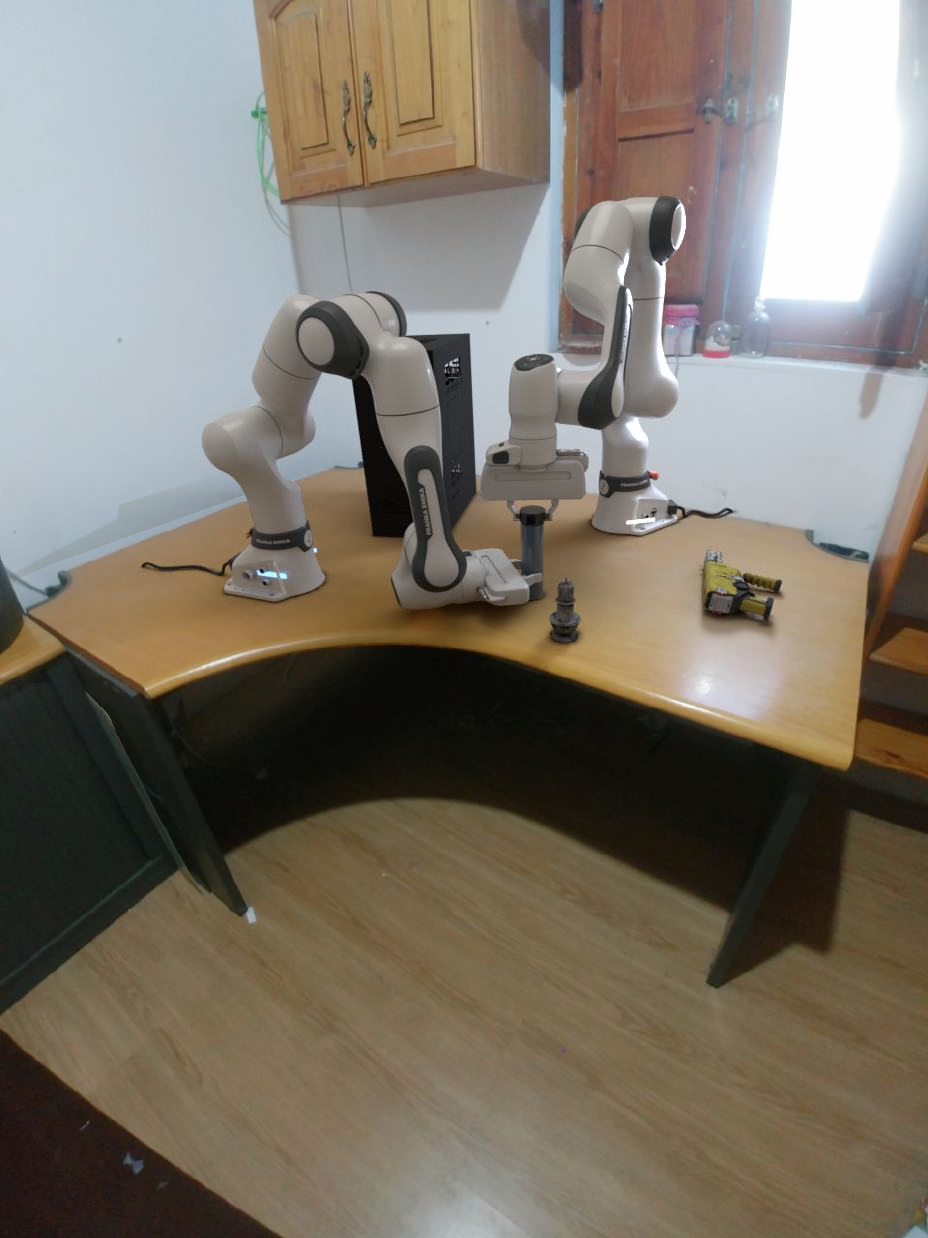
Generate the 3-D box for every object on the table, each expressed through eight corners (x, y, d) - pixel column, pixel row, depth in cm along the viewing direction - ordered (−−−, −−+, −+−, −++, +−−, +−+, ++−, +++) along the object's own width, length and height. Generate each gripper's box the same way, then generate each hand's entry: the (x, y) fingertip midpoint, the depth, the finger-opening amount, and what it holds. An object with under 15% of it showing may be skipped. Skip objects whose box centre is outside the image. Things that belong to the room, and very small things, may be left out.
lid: (544, 525, 117) (544, 514, 116) (517, 524, 118) (517, 513, 117) (546, 516, 121) (546, 505, 120) (520, 515, 122) (520, 504, 121)
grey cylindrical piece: (525, 601, 125) (525, 518, 116) (517, 591, 129) (517, 510, 120) (546, 597, 126) (548, 514, 117) (538, 587, 130) (539, 507, 121)
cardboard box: (446, 538, 156) (432, 350, 134) (372, 535, 161) (348, 352, 138) (476, 491, 188) (469, 333, 165) (414, 490, 192) (399, 335, 170)
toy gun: (779, 558, 129) (706, 546, 133) (794, 606, 109) (707, 591, 113) (773, 578, 131) (701, 566, 135) (786, 629, 111) (701, 613, 115)
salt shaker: (579, 643, 110) (582, 585, 104) (547, 641, 111) (548, 583, 105) (580, 627, 115) (583, 570, 109) (549, 625, 116) (551, 569, 110)
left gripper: (484, 588, 112) (554, 577, 115) (459, 547, 130) (520, 538, 132) (485, 617, 115) (553, 606, 118) (461, 573, 133) (521, 564, 135)
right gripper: (588, 444, 114) (584, 513, 121) (480, 447, 116) (482, 515, 123) (590, 453, 109) (586, 525, 116) (477, 456, 111) (480, 526, 118)
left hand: (536, 570), depth 125 cm, fingers closed on grey cylindrical piece, 5 cm apart
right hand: (532, 520), depth 119 cm, fingers closed on lid, 5 cm apart
